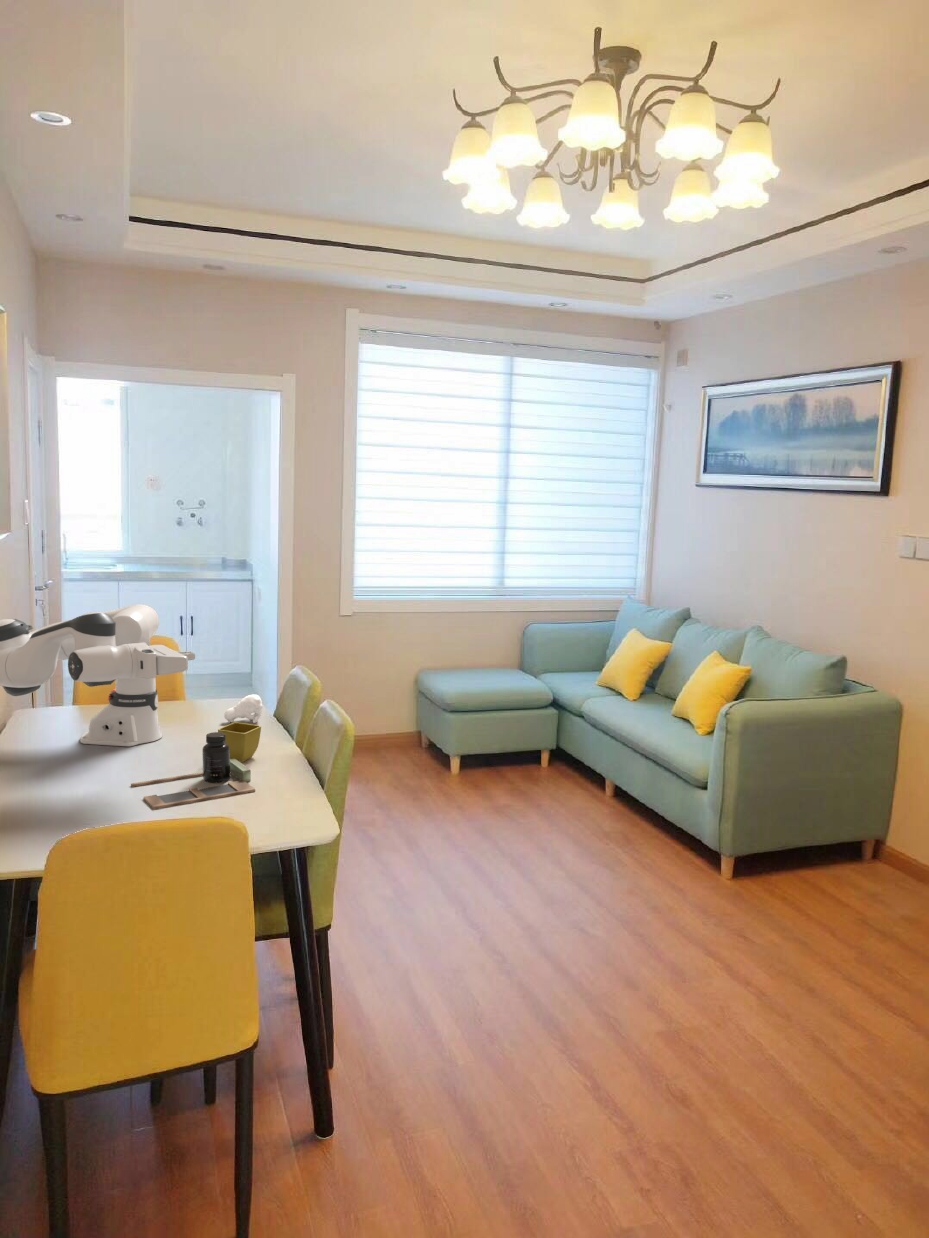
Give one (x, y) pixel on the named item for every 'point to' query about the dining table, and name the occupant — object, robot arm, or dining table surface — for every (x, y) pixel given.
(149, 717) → the robot arm
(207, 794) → the board
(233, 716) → the white lumpy piece
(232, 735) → the flower pot
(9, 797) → the dining table surface
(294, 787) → the dining table surface
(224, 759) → the supplement bottle
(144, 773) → the dining table surface
